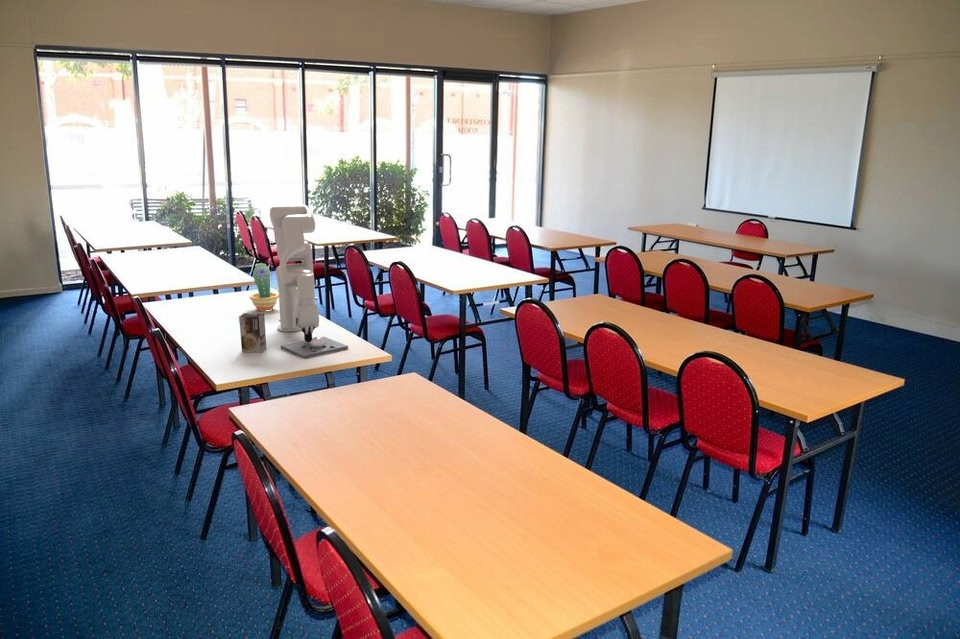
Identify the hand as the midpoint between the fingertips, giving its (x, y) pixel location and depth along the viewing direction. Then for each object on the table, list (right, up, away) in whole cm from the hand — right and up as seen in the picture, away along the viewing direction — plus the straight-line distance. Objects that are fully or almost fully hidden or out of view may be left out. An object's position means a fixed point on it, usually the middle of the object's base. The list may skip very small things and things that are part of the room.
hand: (308, 341), depth 327 cm
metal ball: (+5, -1, -6) cm, 8 cm away
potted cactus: (-39, +15, +66) cm, 78 cm away
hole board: (+3, -3, -3) cm, 6 cm away
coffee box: (-22, -4, -6) cm, 23 cm away
